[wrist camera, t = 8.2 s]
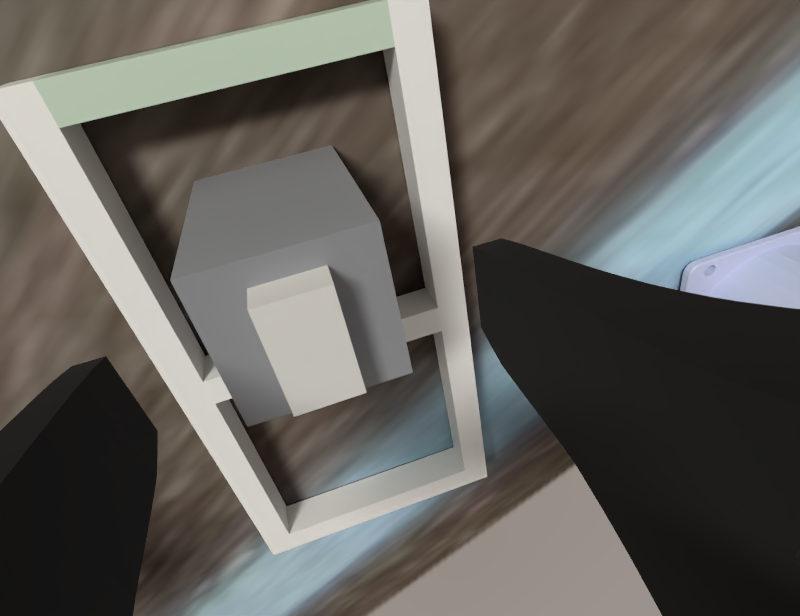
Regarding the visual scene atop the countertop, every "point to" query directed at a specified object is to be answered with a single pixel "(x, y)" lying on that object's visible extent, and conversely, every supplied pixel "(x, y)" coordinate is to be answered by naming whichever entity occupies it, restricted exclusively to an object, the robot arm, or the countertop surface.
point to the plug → (290, 285)
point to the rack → (151, 297)
